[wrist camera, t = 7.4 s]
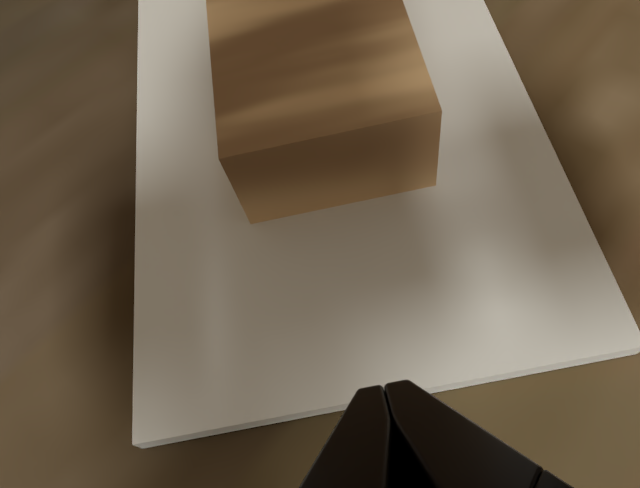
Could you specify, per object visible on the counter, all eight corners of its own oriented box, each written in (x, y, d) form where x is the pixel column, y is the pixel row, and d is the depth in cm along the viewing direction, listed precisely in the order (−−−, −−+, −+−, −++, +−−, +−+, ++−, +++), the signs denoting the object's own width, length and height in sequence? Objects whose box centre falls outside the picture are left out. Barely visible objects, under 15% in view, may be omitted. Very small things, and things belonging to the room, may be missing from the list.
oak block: (442, 110, 17) (365, -105, 22) (218, 158, 17) (200, -66, 23) (436, 185, 20) (370, -18, 26) (250, 224, 20) (227, 14, 26)
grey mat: (636, 353, 17) (646, 345, 16) (142, 448, 18) (131, 444, 17) (447, -59, 28) (448, -75, 27) (145, 10, 29) (138, -3, 28)
